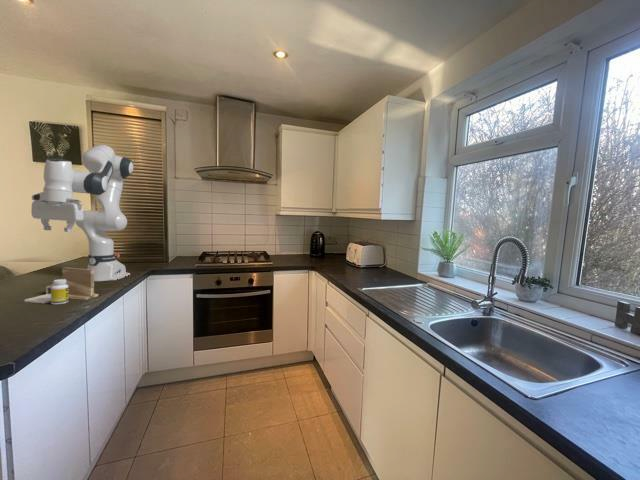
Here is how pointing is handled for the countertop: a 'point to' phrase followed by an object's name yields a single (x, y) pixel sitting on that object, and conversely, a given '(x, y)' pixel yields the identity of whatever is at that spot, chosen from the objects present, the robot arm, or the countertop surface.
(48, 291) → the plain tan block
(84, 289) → the tan t-shaped stand
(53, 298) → the supplement bottle
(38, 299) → the coaster
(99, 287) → the countertop surface
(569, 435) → the countertop surface
